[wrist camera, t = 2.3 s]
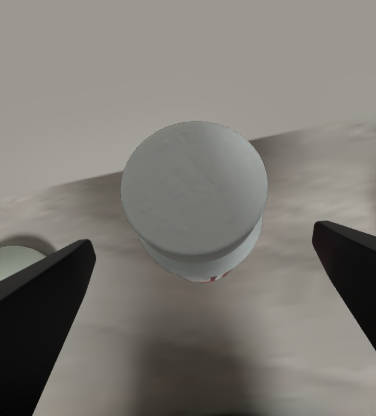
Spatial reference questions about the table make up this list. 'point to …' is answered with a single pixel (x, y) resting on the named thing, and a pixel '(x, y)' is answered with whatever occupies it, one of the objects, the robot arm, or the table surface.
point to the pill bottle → (195, 198)
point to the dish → (17, 259)
